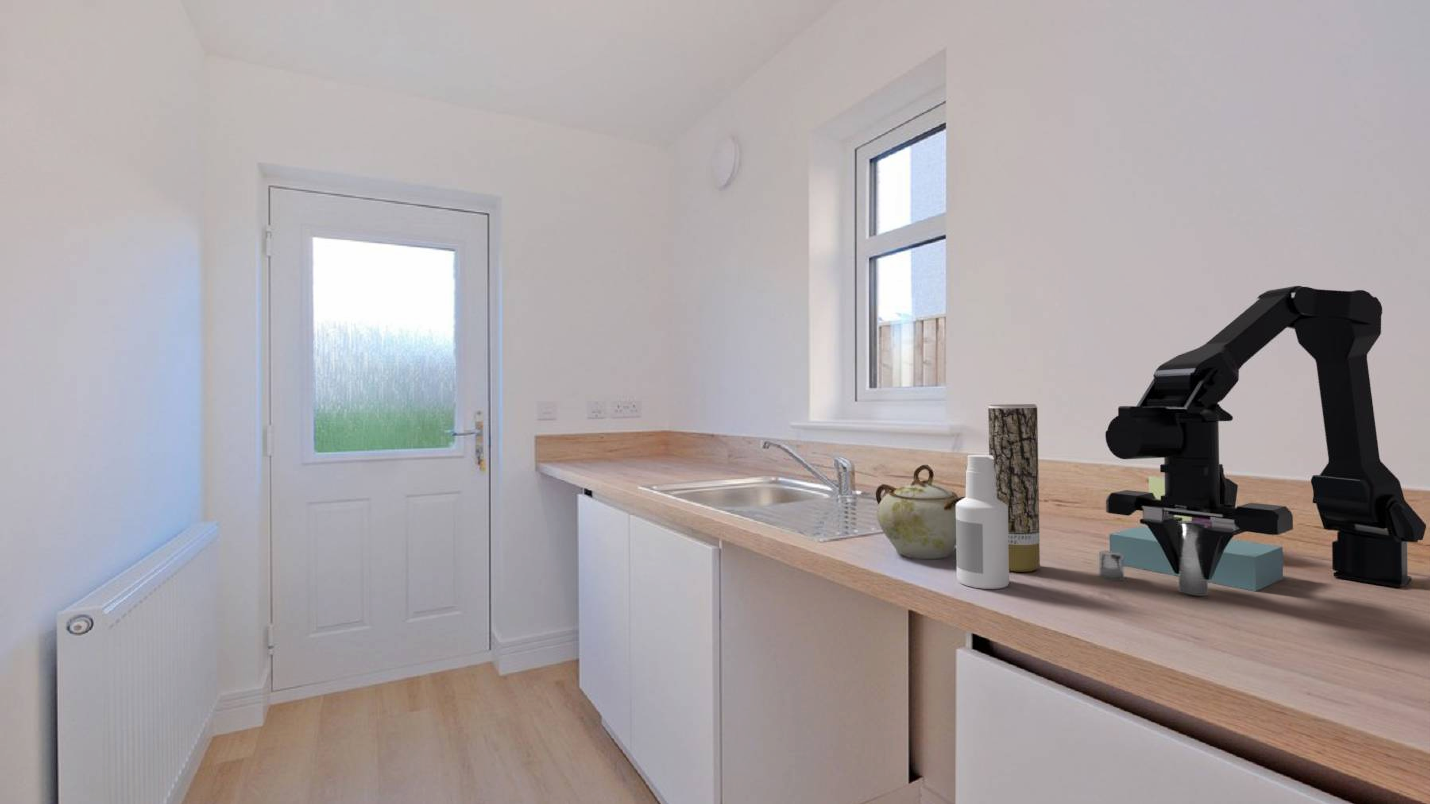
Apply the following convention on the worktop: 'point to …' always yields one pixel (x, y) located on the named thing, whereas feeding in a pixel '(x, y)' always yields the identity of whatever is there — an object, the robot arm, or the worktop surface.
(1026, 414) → the paper tube
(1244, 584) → the hole beam
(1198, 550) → the tall steel pin
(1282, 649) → the worktop surface
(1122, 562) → the short steel pin
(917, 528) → the sugar bowl
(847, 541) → the worktop surface
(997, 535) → the spray bottle
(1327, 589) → the worktop surface
